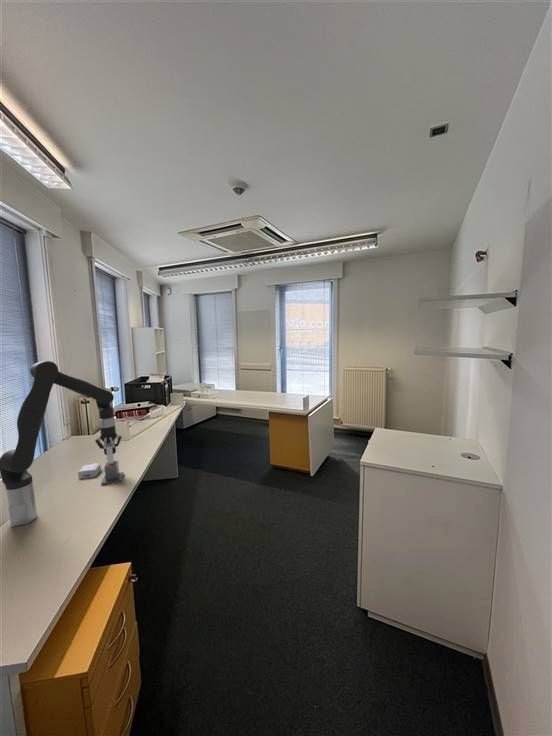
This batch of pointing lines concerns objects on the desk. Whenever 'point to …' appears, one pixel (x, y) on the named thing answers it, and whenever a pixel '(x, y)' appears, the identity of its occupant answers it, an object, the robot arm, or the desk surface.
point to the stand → (112, 474)
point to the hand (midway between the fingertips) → (110, 454)
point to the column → (110, 454)
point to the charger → (89, 471)
